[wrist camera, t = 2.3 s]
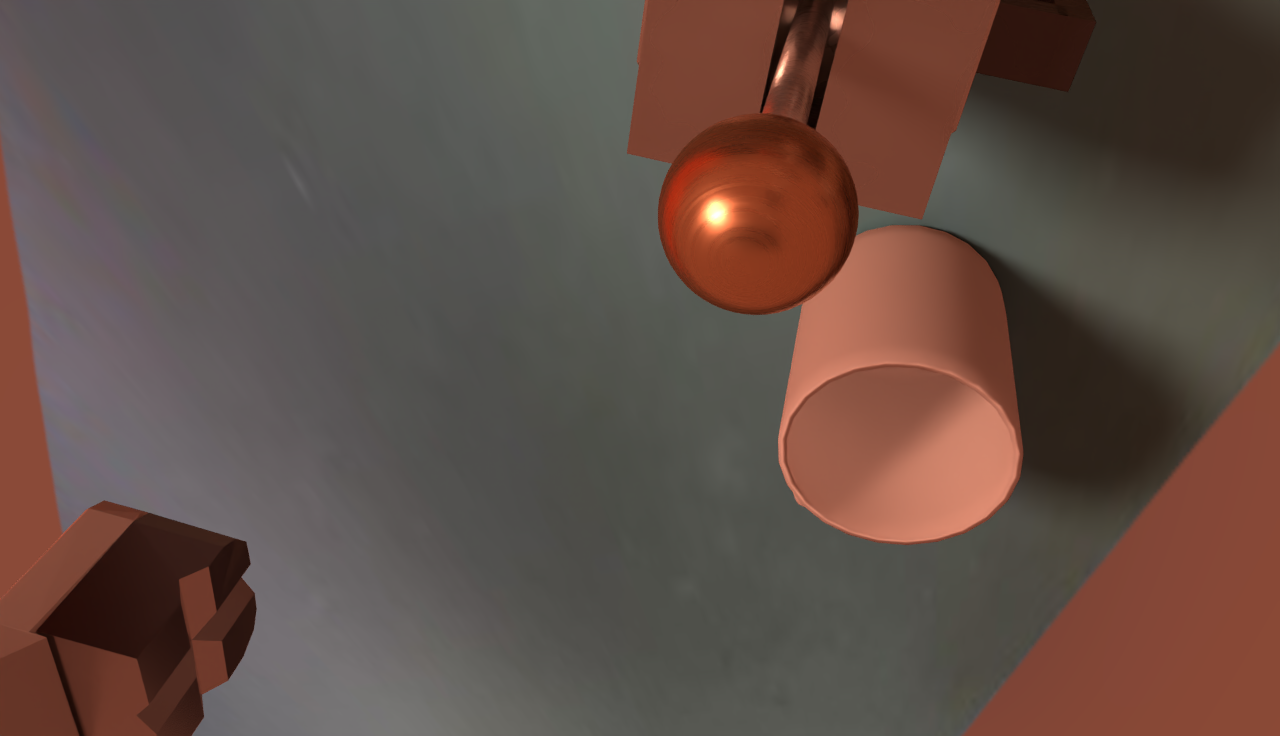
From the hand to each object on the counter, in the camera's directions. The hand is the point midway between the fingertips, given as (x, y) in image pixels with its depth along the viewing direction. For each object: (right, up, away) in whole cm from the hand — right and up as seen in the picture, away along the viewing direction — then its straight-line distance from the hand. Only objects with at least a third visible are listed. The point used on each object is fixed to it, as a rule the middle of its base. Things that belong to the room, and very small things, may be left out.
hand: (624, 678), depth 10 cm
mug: (+13, +5, +41) cm, 43 cm away
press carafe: (+10, +21, +30) cm, 38 cm away
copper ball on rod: (+6, +15, +21) cm, 26 cm away
